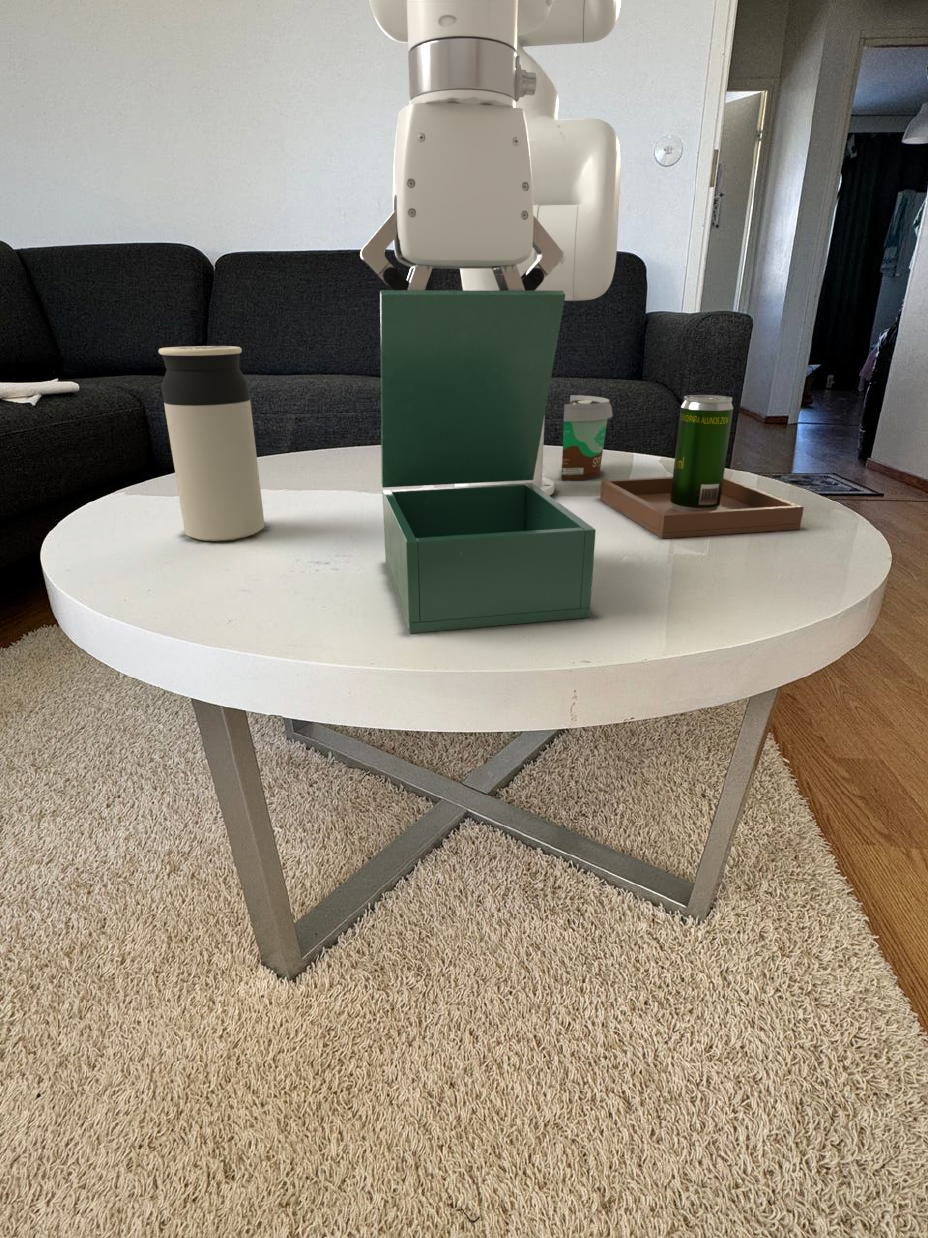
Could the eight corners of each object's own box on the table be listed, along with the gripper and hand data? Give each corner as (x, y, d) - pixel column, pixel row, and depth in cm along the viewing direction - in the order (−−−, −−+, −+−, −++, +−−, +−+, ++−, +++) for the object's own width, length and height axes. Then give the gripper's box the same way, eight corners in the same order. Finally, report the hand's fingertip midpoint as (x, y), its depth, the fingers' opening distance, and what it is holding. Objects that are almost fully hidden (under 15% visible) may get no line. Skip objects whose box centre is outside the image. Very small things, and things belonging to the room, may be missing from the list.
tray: (599, 499, 87) (601, 480, 86) (717, 493, 90) (719, 474, 89) (661, 538, 72) (664, 515, 71) (800, 529, 75) (804, 506, 74)
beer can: (729, 511, 80) (746, 398, 75) (692, 516, 78) (706, 401, 73) (695, 500, 84) (709, 393, 79) (659, 505, 82) (670, 396, 77)
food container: (607, 484, 95) (613, 405, 91) (560, 482, 96) (564, 404, 92) (608, 466, 106) (614, 395, 102) (566, 464, 107) (570, 394, 103)
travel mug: (280, 526, 77) (261, 346, 70) (229, 546, 70) (202, 350, 63) (222, 518, 80) (198, 345, 73) (168, 536, 73) (136, 348, 66)
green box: (589, 617, 54) (596, 529, 51) (409, 633, 51) (406, 541, 49) (529, 554, 68) (532, 482, 65) (385, 564, 65) (382, 490, 63)
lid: (565, 294, 53) (547, 268, 56) (381, 294, 50) (373, 267, 54) (533, 480, 65) (519, 449, 68) (382, 487, 62) (376, 455, 66)
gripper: (562, 107, 55) (552, 356, 62) (335, 96, 52) (351, 360, 59) (599, 79, 49) (582, 362, 56) (340, 65, 45) (358, 366, 53)
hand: (463, 358), depth 57 cm, fingers closed on lid, 6 cm apart
